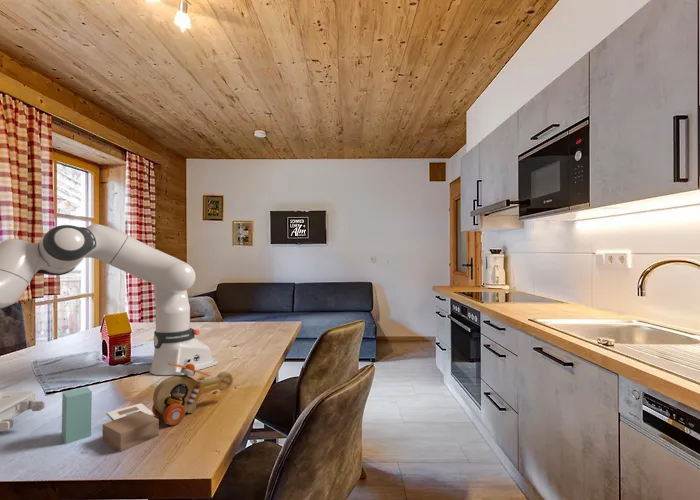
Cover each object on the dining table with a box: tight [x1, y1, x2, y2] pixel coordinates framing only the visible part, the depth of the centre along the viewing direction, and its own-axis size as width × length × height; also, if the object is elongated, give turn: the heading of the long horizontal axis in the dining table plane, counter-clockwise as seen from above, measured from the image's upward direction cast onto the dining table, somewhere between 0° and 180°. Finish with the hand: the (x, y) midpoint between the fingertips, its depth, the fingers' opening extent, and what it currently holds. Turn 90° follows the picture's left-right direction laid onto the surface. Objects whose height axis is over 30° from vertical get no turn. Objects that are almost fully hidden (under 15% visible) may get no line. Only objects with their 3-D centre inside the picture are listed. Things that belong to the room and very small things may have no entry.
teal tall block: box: [61, 386, 93, 445], centre depth 80 cm, size 4×4×10 cm
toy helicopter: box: [151, 363, 234, 426], centre depth 93 cm, size 8×21×14 cm, turn 140°
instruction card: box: [106, 402, 156, 421], centre depth 91 cm, size 8×11×1 cm
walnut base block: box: [102, 411, 160, 453], centre depth 79 cm, size 8×8×4 cm
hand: (27, 414), depth 79 cm, fingers open, 8 cm apart
